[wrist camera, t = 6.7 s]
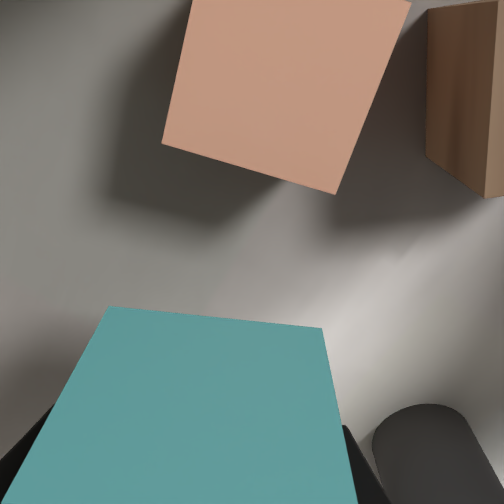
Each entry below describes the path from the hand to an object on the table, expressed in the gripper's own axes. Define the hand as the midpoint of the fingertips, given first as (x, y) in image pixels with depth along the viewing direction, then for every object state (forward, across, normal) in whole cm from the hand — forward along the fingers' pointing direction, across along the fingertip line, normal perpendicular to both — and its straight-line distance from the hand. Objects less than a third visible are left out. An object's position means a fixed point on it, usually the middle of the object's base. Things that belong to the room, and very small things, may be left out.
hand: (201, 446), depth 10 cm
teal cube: (+2, 0, 0) cm, 2 cm away
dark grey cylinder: (+10, -11, +10) cm, 18 cm away
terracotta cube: (+10, -1, -8) cm, 13 cm away
